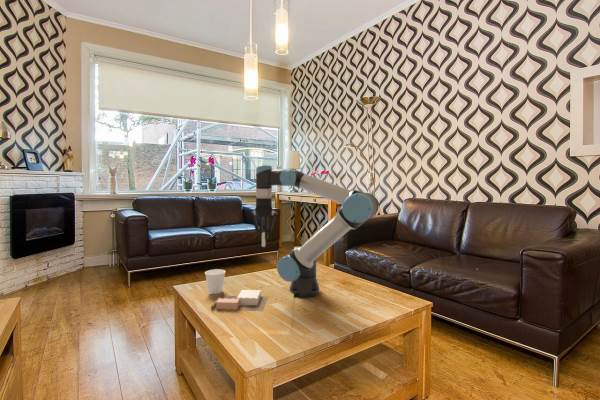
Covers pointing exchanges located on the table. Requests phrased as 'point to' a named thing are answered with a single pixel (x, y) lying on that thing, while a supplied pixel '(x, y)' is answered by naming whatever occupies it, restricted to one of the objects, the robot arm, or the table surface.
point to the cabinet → (228, 303)
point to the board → (257, 307)
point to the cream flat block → (249, 297)
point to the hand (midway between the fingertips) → (263, 246)
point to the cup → (215, 280)
